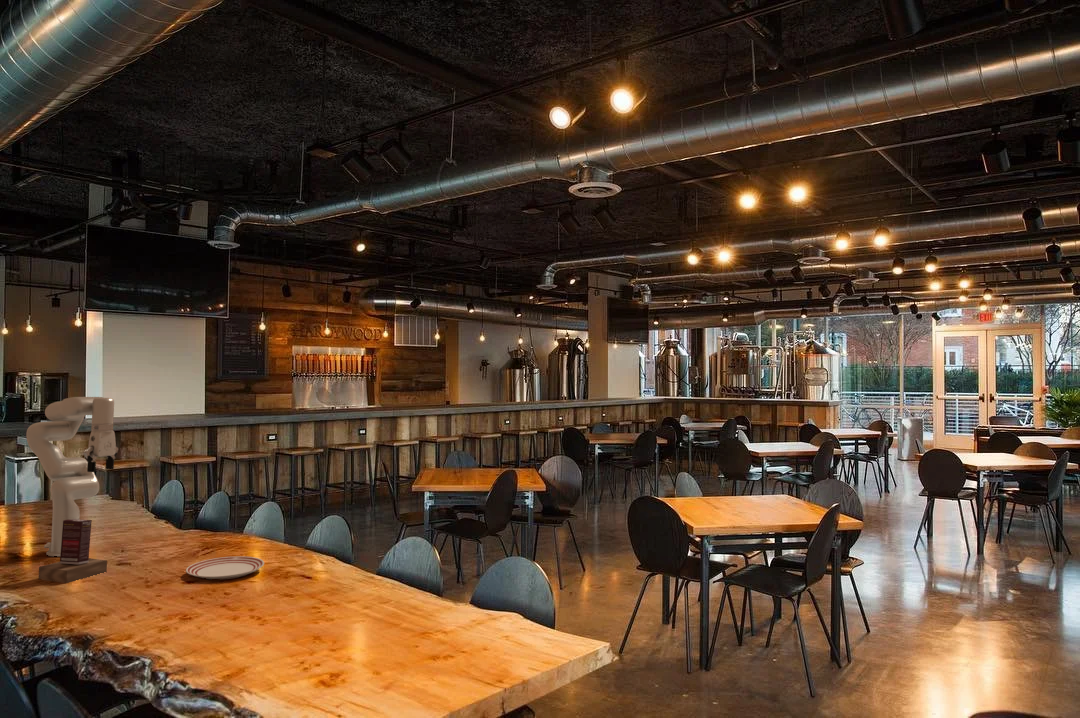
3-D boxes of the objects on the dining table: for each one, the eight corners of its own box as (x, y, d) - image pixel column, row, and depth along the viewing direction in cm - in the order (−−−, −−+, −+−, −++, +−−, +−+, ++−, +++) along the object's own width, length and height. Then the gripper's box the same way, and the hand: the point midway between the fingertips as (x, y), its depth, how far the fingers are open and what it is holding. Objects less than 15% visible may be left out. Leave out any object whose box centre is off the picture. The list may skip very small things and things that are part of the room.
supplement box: (89, 562, 267) (92, 519, 268) (78, 565, 262) (82, 521, 263) (69, 561, 268) (73, 518, 270) (58, 563, 264) (62, 520, 265)
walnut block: (38, 580, 260) (39, 566, 260) (79, 570, 275) (79, 557, 275) (66, 584, 255) (67, 570, 256) (106, 573, 271) (107, 560, 271)
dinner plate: (235, 586, 256) (236, 576, 256) (168, 580, 262) (169, 571, 262) (278, 567, 283) (278, 558, 283) (216, 562, 288) (216, 554, 289)
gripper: (94, 429, 280) (92, 473, 279) (126, 427, 297) (124, 468, 297) (77, 429, 281) (75, 472, 281) (109, 426, 298) (108, 467, 298)
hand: (100, 470), depth 289 cm, fingers open, 9 cm apart
